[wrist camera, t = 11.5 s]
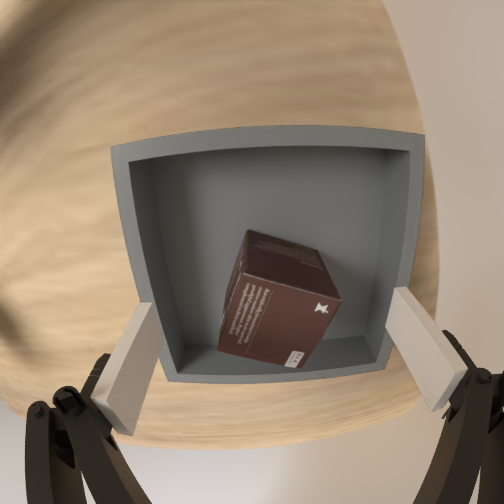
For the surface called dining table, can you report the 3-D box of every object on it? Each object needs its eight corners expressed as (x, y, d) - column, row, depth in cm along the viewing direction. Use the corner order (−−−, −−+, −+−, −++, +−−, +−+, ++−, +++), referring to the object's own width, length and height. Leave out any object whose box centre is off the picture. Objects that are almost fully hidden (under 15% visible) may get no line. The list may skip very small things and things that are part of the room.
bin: (138, 143, 19) (110, 146, 15) (393, 133, 18) (424, 134, 14) (178, 349, 27) (168, 381, 22) (370, 338, 26) (384, 369, 22)
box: (246, 226, 21) (242, 270, 14) (319, 249, 22) (345, 299, 15) (225, 292, 23) (214, 352, 16) (291, 310, 24) (302, 371, 17)
